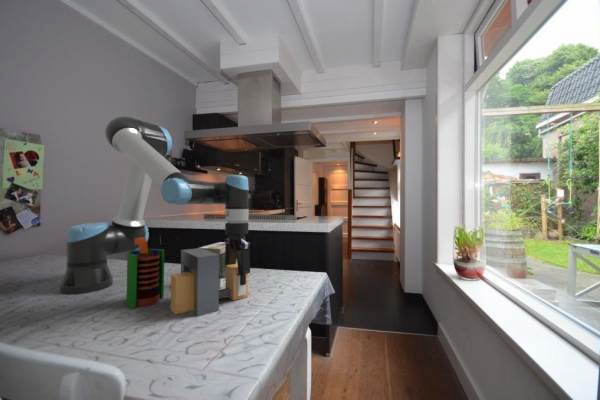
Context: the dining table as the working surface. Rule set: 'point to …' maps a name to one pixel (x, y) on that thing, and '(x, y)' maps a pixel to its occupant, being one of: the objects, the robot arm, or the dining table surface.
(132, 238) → the robot arm
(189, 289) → the tan u-shaped piece
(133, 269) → the motor
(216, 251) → the tea box
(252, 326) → the dining table surface
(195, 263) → the housing
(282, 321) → the dining table surface
